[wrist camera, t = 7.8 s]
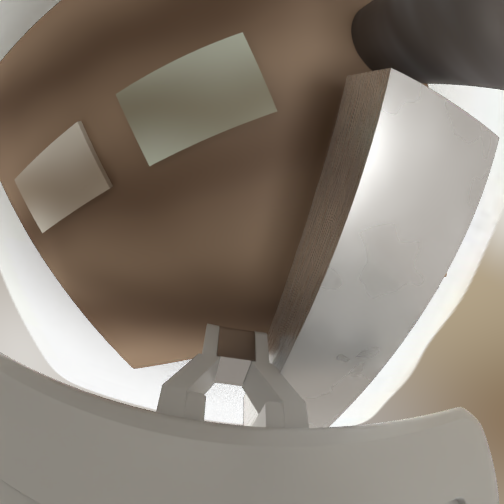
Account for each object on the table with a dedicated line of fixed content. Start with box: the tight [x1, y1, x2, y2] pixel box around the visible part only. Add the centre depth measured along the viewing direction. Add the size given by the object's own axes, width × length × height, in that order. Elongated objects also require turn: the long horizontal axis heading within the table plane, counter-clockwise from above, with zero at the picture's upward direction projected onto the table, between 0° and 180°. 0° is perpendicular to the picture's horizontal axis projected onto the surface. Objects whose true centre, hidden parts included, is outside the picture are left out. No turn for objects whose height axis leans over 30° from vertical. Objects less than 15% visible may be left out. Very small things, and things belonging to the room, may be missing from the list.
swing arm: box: [243, 68, 499, 428], centre depth 10 cm, size 18×4×3 cm, turn 168°
